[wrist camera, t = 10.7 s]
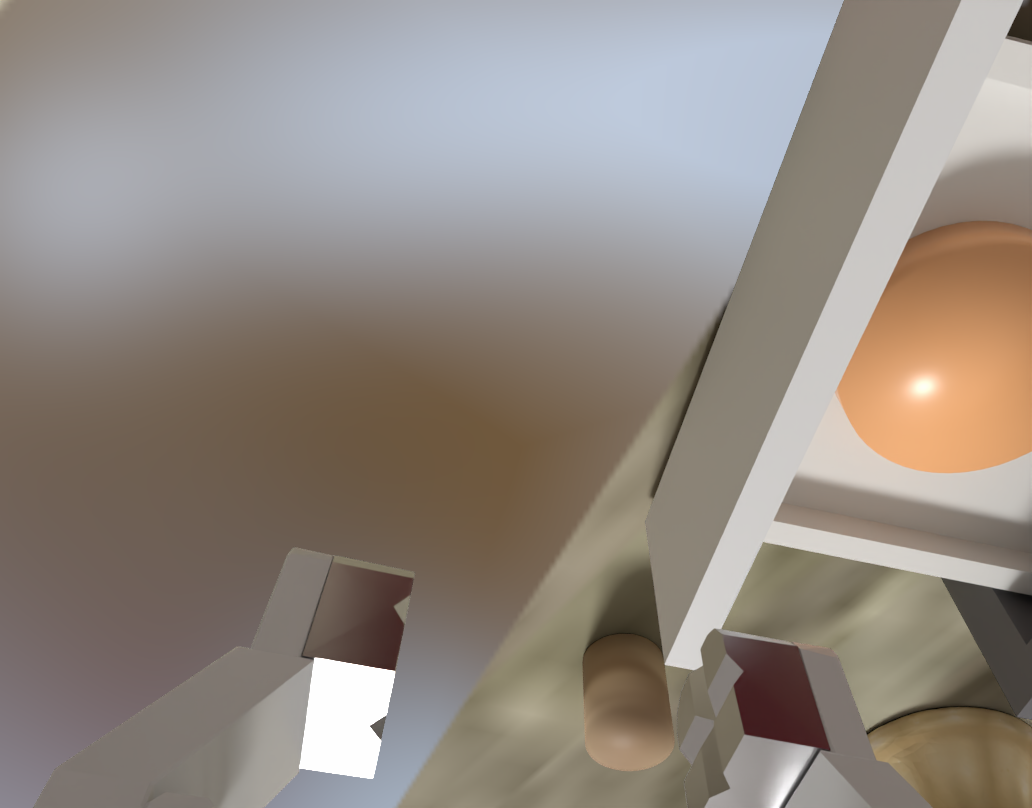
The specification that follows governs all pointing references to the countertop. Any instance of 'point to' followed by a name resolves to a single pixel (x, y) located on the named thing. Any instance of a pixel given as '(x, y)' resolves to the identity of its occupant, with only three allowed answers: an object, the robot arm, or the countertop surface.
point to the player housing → (1000, 636)
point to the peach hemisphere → (949, 353)
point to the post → (626, 703)
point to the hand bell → (960, 756)
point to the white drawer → (850, 323)
